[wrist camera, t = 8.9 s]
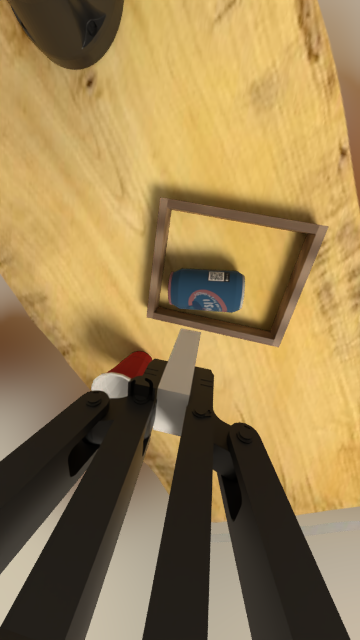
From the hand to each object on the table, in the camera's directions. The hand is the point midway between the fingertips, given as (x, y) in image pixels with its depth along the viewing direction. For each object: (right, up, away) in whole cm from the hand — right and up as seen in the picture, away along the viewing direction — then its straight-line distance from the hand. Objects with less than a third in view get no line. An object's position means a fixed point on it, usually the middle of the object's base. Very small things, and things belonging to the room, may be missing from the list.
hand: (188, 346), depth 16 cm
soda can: (+10, +7, +20) cm, 23 cm away
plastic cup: (-10, -8, +33) cm, 35 cm away
